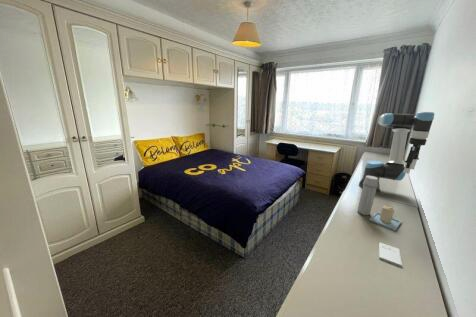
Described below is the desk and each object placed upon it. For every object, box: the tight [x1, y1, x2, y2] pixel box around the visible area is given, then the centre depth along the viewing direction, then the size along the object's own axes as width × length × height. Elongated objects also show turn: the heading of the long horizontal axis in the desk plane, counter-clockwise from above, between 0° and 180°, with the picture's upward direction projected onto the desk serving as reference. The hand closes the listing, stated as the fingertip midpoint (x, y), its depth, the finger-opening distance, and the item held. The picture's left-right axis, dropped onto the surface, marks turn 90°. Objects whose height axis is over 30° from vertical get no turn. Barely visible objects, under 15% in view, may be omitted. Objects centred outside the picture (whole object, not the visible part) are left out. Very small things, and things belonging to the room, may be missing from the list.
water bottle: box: [357, 176, 378, 216], centre depth 122 cm, size 9×8×25 cm
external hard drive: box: [378, 242, 403, 268], centre depth 91 cm, size 2×8×12 cm
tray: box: [368, 211, 402, 232], centre depth 117 cm, size 13×13×1 cm
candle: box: [380, 204, 395, 223], centre depth 116 cm, size 6×6×10 cm
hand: (408, 170), depth 123 cm, fingers open, 13 cm apart
